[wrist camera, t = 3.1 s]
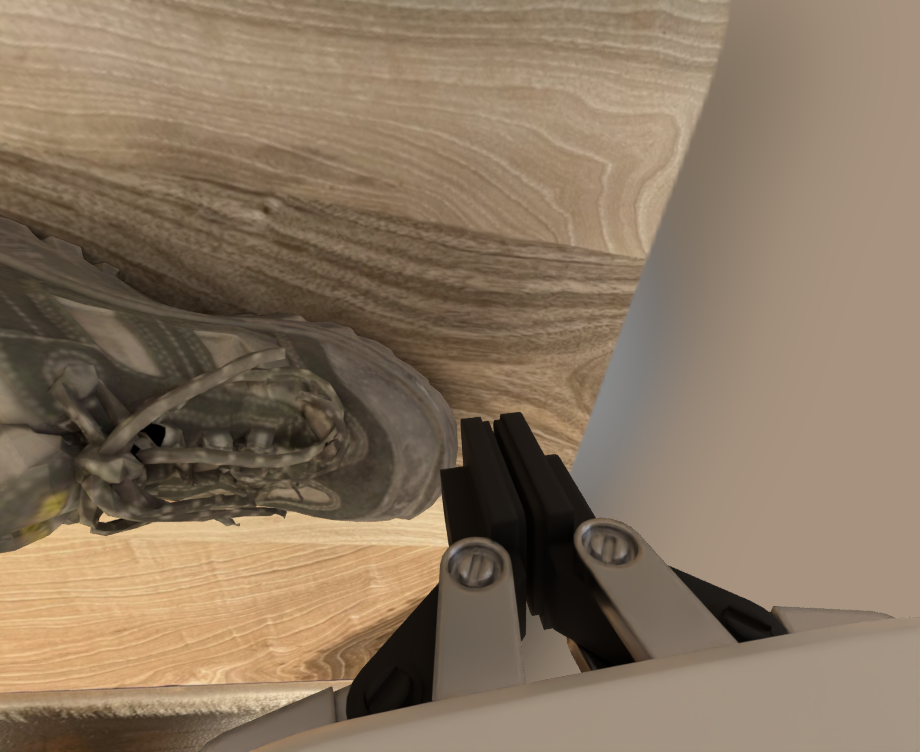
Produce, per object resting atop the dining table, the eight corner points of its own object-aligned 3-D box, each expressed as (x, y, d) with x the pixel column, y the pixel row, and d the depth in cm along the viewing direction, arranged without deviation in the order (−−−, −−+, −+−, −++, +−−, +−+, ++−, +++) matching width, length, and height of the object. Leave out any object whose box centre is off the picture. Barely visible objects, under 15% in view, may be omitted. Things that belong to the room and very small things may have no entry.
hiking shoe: (403, 559, 21) (460, 733, 10) (-90, 422, 17) (-995, 440, 6) (462, 384, 23) (572, 353, 11) (20, 220, 19) (-522, -93, 7)
